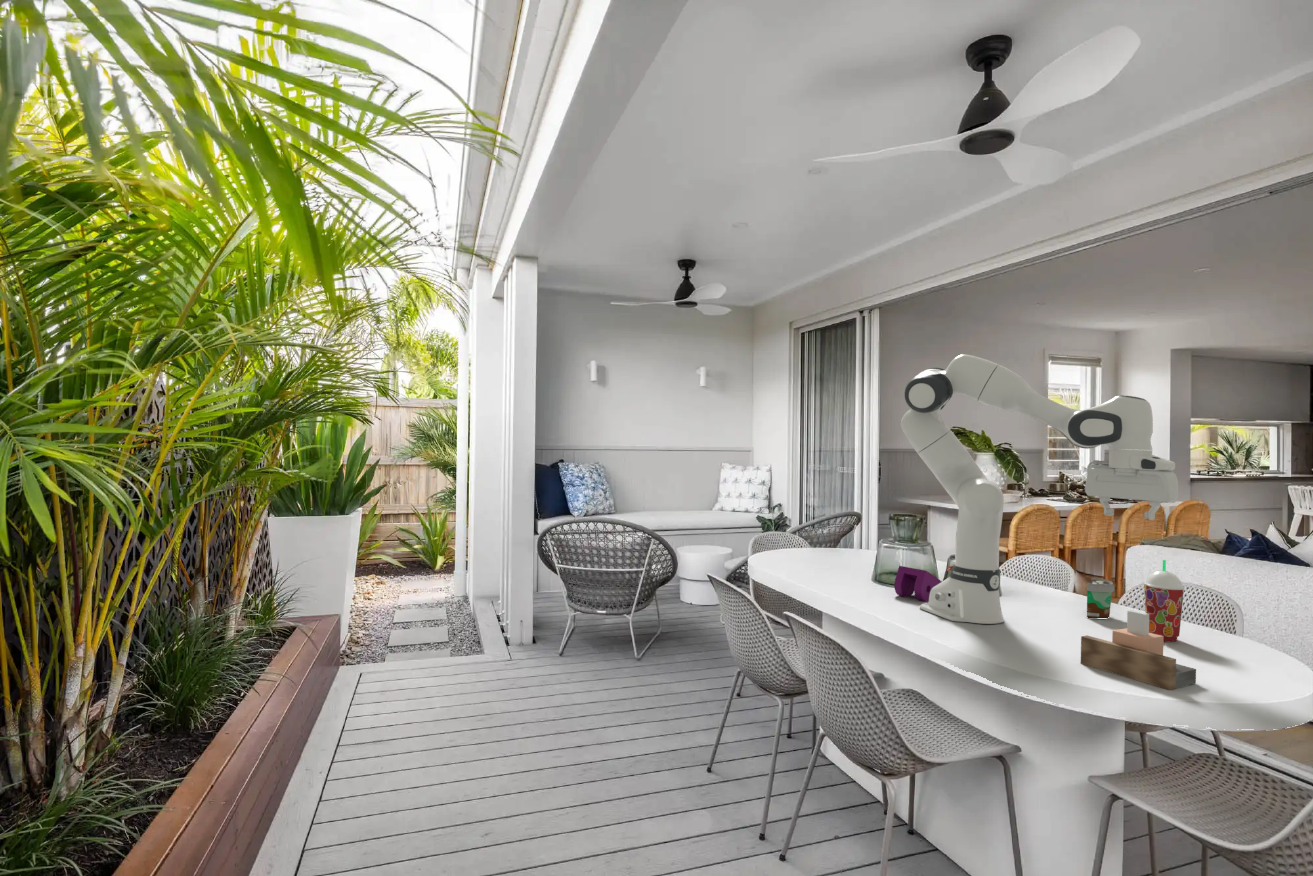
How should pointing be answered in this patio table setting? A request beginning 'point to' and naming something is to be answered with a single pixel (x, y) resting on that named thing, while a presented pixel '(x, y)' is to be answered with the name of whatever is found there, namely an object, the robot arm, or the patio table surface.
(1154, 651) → the peach box
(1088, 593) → the food container
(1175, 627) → the smoothie
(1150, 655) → the wall board
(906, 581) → the mounting bracket
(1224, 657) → the patio table surface
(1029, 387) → the robot arm
